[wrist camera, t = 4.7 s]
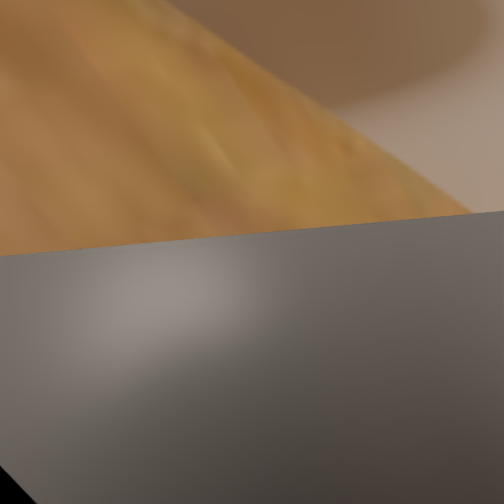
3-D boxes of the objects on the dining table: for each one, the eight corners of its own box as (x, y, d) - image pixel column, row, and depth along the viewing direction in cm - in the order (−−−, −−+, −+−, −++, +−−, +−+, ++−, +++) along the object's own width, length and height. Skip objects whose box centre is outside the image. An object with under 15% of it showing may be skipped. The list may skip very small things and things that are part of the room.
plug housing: (287, 370, 14) (680, 582, 3) (136, 402, 13) (-313, 1186, 1) (274, 289, 15) (551, 206, 4) (129, 309, 13) (-194, 274, 2)
